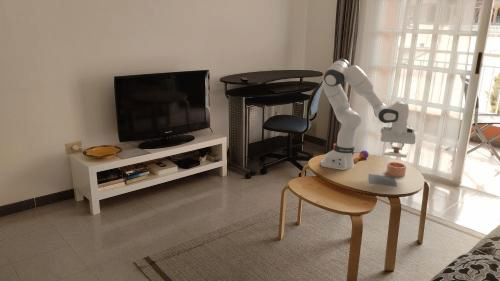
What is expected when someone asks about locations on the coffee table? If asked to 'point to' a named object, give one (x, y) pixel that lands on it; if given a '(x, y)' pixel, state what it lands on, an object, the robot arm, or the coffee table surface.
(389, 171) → the bowl
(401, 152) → the lid
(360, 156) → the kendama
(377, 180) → the mat
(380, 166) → the coffee table surface
